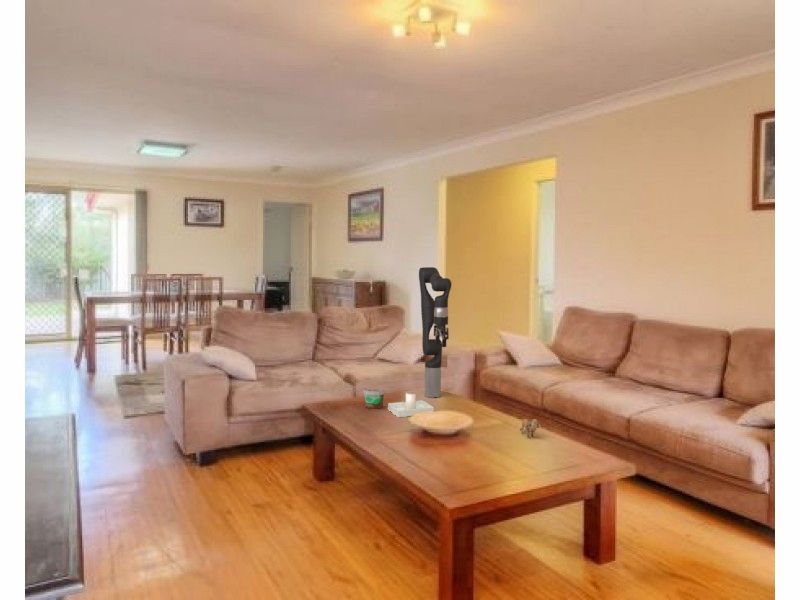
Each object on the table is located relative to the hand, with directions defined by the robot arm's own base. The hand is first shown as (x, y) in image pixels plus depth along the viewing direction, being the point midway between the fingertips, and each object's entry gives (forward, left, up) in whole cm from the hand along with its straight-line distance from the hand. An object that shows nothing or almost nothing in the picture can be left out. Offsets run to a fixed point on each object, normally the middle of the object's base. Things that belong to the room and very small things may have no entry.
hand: (440, 345), depth 298 cm
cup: (+5, -19, -32) cm, 38 cm away
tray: (+5, -19, -33) cm, 38 cm away
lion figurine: (+58, +18, -33) cm, 70 cm away
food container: (-8, -36, -33) cm, 50 cm away
